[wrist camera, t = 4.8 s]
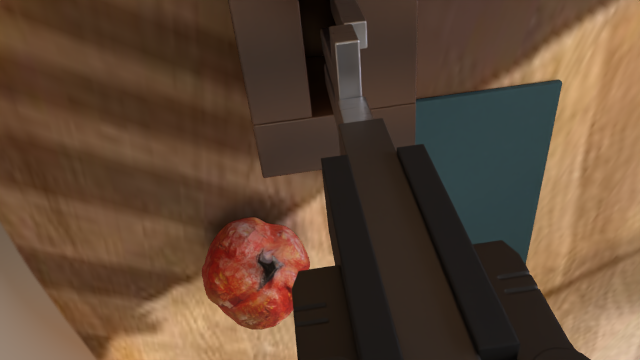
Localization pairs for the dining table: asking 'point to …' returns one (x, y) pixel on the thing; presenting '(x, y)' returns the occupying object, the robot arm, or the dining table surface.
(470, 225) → the mat
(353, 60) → the fork
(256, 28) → the fork stand
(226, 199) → the dining table surface
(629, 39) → the dining table surface
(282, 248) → the red round fruit
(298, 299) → the robot arm
